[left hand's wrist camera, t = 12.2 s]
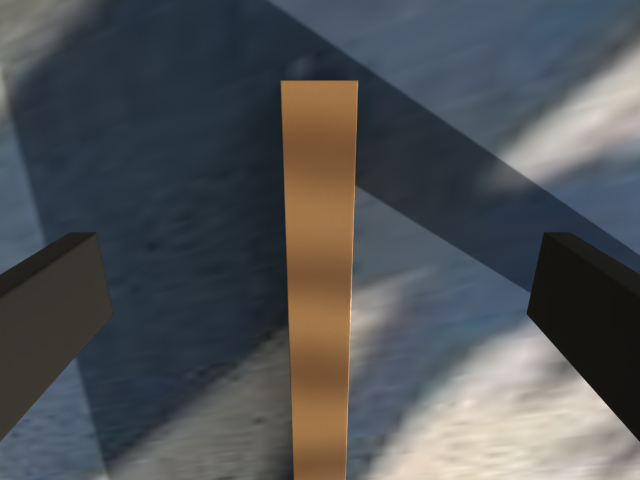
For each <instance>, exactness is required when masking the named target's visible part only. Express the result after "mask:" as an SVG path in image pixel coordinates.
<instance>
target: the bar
mask: <svg viewBox="0 0 640 480" xmlns="http://www.w3.org/2000/svg"><path fill="white" fill-rule="evenodd" d="M357 98H358V81H357V80H281V109H282V139H283V169H284V199H285V229H286V259H287V289H288V319H289V350H290V380H291V410H292V440H293V470H294V480H345V479H346V447H347V415H348V384H349V352H350V320H351V288H352V257H353V225H354V193H355V161H356V130H357Z"/></svg>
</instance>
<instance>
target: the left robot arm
mask: <svg viewBox="0 0 640 480" xmlns="http://www.w3.org/2000/svg"><path fill="white" fill-rule="evenodd" d="M112 315H113V310H112V305H111V300H110V296H109V291H108V286H107V281H106V277H105V272H104V267H103V263H102V258H101V253H100V249H99V244H98V239H97V235H96V232H70V233H68V234H67V235H65V236H63V237H62V238H60V239H58V240H57V241H55V242H53V243H52V244H50V245H48V246H47V247H45V248H43V249H42V250H40V251H39V252H37V253H35V254H34V255H32V256H30V257H29V258H27V259H25V260H24V261H22V262H20V263H19V264H17V265H16V266H14V267H12V268H11V269H9V270H7V271H6V272H4V273H2V274H1V275H0V441H1V440H2V439H3V438H4V437H5V436H6V435H7V434H8V432H9V431H10V430H11V429H12V428H13V427H14V426H15V424H16V423H17V422H18V421H19V420H20V419H21V418H22V417H23V415H24V414H25V413H26V412H27V411H28V410H29V409H30V408H31V406H32V405H33V404H34V403H35V402H36V401H37V400H38V399H39V397H40V396H41V395H42V394H43V393H44V392H45V391H46V389H47V388H48V387H49V386H50V385H51V384H52V383H53V382H54V380H55V379H56V378H57V377H58V376H59V375H60V374H61V373H62V371H63V370H64V369H65V368H66V367H67V366H68V365H69V363H70V362H71V361H72V360H73V359H74V358H75V357H76V356H77V354H78V353H79V352H80V351H81V350H82V349H83V348H84V347H85V345H86V344H87V343H88V342H89V341H90V340H91V339H92V338H93V336H94V335H95V334H96V333H97V332H98V331H99V330H100V328H101V327H102V326H103V325H104V324H105V323H106V322H107V321H108V319H109V318H110V317H111V316H112ZM527 315H528V316H529V317H530V318H531V319H532V321H533V322H534V323H535V324H536V325H537V326H538V327H539V328H540V330H541V331H542V332H543V333H544V334H545V335H546V336H547V338H548V339H549V340H550V341H551V342H552V343H553V344H554V345H555V347H556V348H557V349H558V350H559V351H560V352H561V353H562V354H563V356H564V357H565V358H566V359H567V360H568V361H569V362H570V363H571V365H572V366H573V367H574V368H575V369H576V370H577V371H578V373H579V374H580V375H581V376H582V377H583V378H584V379H585V380H586V382H587V383H588V384H589V385H590V386H591V387H592V388H593V389H594V391H595V392H596V393H597V394H598V395H599V396H600V397H601V399H602V400H603V401H604V402H605V403H606V404H607V405H608V406H609V408H610V409H611V410H612V411H613V412H614V413H615V414H616V415H617V417H618V418H619V419H620V420H621V421H622V422H623V423H624V424H625V426H626V427H627V428H628V429H629V430H630V431H631V432H632V434H633V435H634V436H635V437H636V438H637V439H638V440H639V441H640V275H639V274H638V273H636V272H634V271H633V270H631V269H629V268H628V267H626V266H624V265H623V264H621V263H620V262H618V261H616V260H615V259H613V258H611V257H610V256H608V255H606V254H605V253H603V252H601V251H600V250H598V249H597V248H595V247H593V246H592V245H590V244H588V243H587V242H585V241H583V240H582V239H580V238H578V237H577V236H575V235H573V234H572V233H570V232H544V235H543V239H542V244H541V249H540V253H539V258H538V263H537V267H536V272H535V277H534V281H533V286H532V291H531V296H530V300H529V305H528V310H527Z"/></svg>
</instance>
